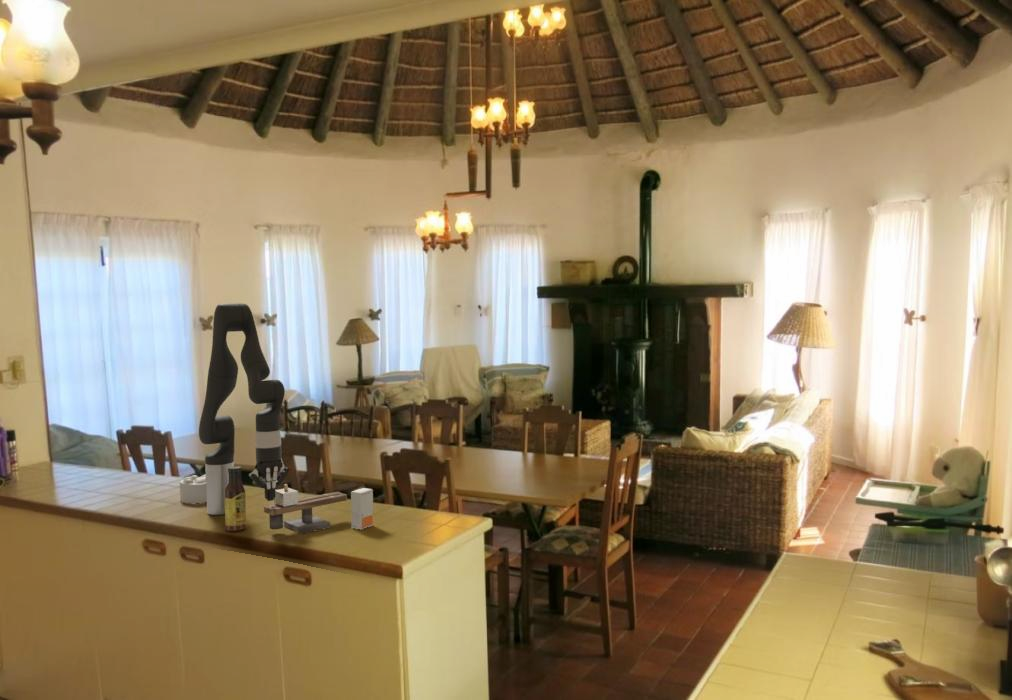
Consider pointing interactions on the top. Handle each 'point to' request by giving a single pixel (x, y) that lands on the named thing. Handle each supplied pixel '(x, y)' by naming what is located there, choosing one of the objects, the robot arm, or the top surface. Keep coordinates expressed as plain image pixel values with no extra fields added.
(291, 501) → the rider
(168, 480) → the top surface
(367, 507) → the skincare box
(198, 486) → the lumpy-topped squat cylinder
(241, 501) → the sauce bottle
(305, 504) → the balance beam
